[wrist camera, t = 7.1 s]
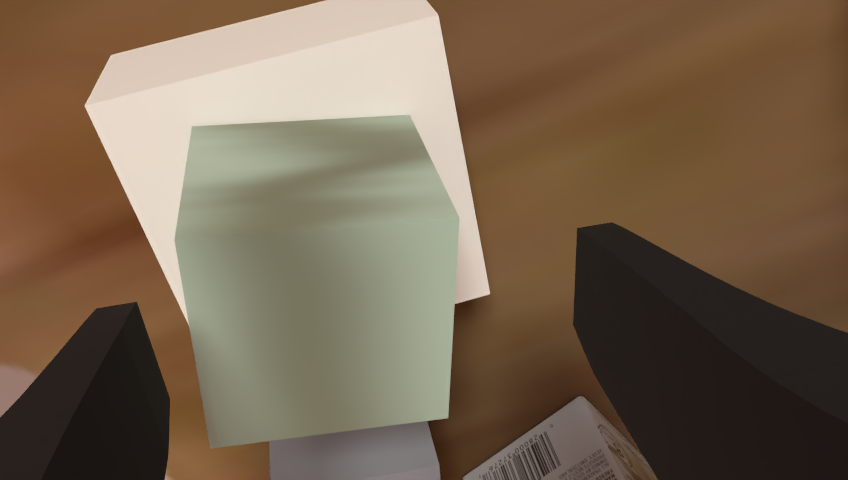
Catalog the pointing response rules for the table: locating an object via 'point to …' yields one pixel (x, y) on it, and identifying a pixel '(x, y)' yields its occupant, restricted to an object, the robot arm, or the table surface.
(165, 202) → the cream base block
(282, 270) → the green cube
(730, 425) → the robot arm
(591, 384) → the table surface
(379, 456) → the grey cube
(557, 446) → the coffee box
